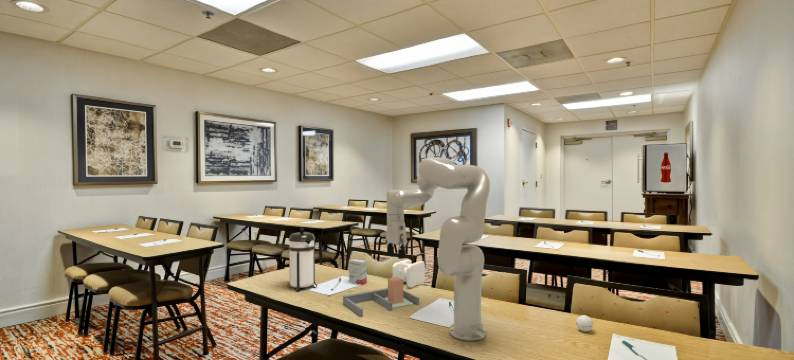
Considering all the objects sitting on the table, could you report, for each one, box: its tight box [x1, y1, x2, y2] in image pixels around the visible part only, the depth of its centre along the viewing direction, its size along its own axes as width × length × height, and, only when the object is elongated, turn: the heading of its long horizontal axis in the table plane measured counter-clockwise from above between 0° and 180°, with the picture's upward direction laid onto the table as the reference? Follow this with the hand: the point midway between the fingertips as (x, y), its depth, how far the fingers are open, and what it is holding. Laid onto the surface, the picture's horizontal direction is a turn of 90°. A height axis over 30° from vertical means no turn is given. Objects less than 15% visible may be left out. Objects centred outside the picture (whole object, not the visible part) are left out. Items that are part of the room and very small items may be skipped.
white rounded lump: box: [575, 314, 594, 332], centre depth 139 cm, size 8×6×6 cm
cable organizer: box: [391, 258, 426, 289], centre depth 198 cm, size 15×11×12 cm
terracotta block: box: [387, 277, 404, 304], centre depth 171 cm, size 5×5×10 cm
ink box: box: [348, 258, 368, 286], centre depth 202 cm, size 9×5×12 cm, turn 58°
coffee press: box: [287, 227, 318, 293], centre depth 194 cm, size 17×16×30 cm
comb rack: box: [342, 287, 420, 318], centre depth 169 cm, size 18×28×4 cm, turn 120°
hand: (396, 256), depth 171 cm, fingers open, 9 cm apart
